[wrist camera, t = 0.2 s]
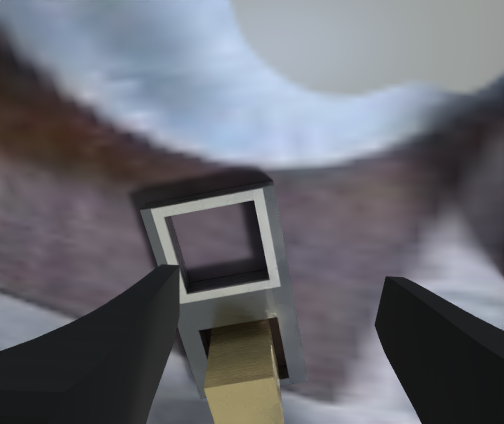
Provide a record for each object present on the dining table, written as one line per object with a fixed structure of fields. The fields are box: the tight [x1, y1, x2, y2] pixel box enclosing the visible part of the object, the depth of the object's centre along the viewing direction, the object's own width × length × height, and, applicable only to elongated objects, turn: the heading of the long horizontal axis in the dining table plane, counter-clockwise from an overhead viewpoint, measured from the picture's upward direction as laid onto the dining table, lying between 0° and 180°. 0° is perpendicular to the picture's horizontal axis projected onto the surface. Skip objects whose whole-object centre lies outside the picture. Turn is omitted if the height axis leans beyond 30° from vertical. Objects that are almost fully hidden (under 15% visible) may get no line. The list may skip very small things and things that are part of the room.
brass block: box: [204, 319, 284, 424], centre depth 22 cm, size 4×4×6 cm
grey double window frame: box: [140, 180, 308, 399], centre depth 22 cm, size 15×8×1 cm, turn 11°
